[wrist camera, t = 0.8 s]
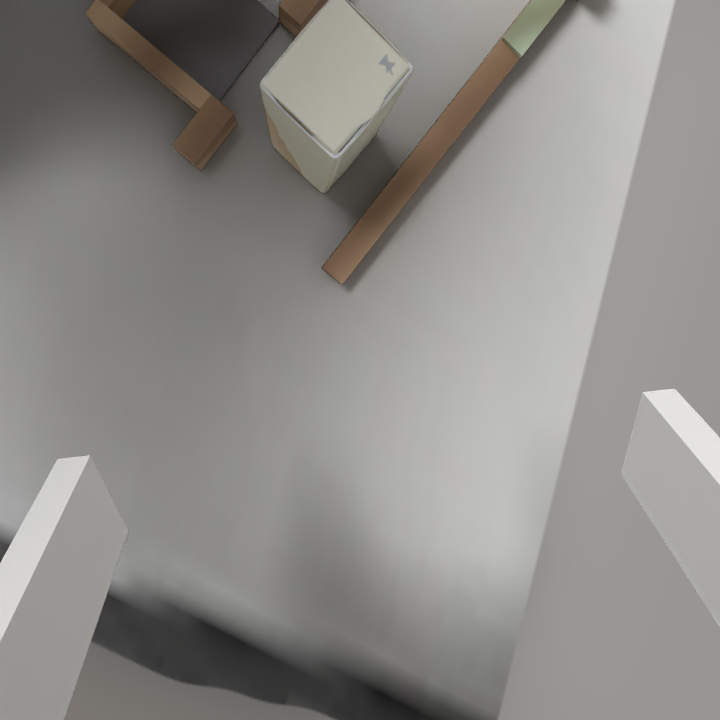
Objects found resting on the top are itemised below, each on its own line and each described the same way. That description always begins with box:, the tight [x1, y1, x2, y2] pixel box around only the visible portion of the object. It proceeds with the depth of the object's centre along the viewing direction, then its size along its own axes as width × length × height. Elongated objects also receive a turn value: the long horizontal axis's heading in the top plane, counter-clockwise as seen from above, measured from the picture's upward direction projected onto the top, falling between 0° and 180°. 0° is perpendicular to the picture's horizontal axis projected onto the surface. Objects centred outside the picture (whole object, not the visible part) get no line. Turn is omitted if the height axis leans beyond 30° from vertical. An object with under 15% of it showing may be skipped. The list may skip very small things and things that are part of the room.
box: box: [260, 0, 413, 193], centre depth 27 cm, size 5×4×11 cm
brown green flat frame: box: [85, 0, 578, 284], centre depth 30 cm, size 20×24×4 cm
